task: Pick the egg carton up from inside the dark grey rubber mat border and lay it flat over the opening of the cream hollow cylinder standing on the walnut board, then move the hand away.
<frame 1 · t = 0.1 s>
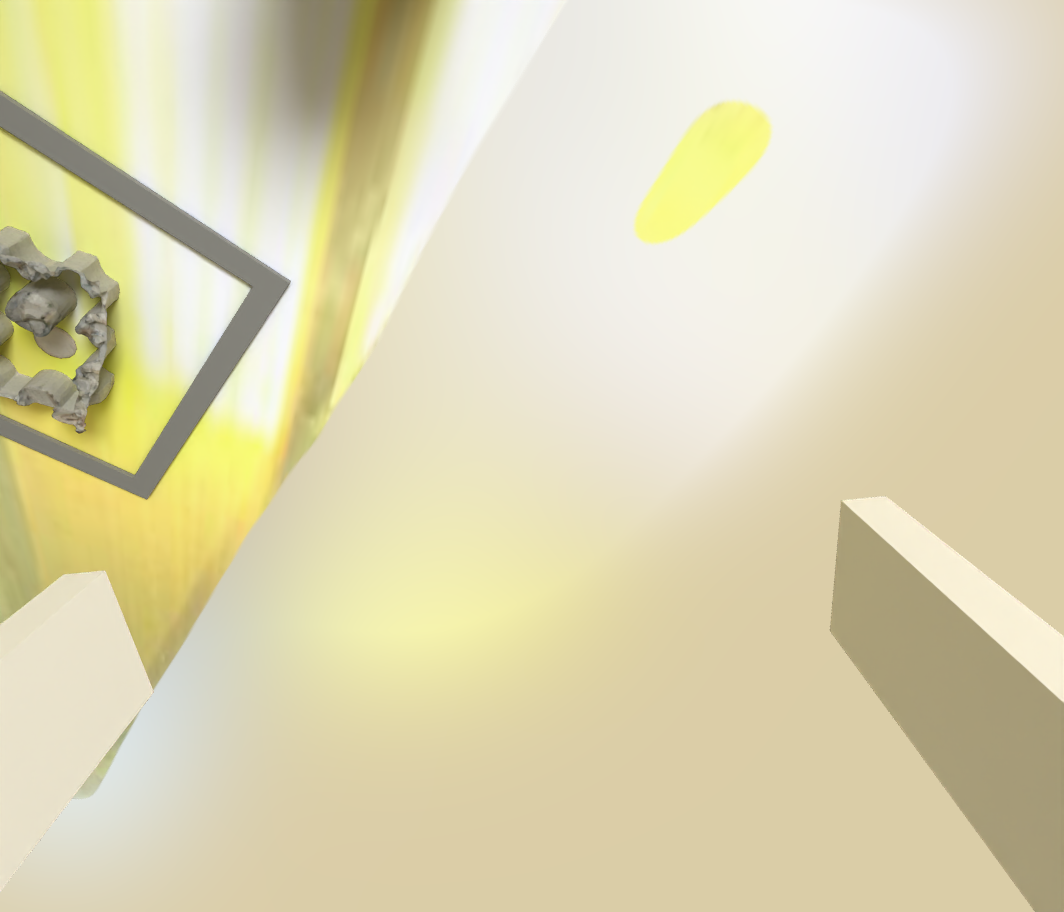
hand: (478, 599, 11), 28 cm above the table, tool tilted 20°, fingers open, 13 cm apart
mat border: (53, 318, 37), on the table
egg carton: (55, 314, 38), on the table
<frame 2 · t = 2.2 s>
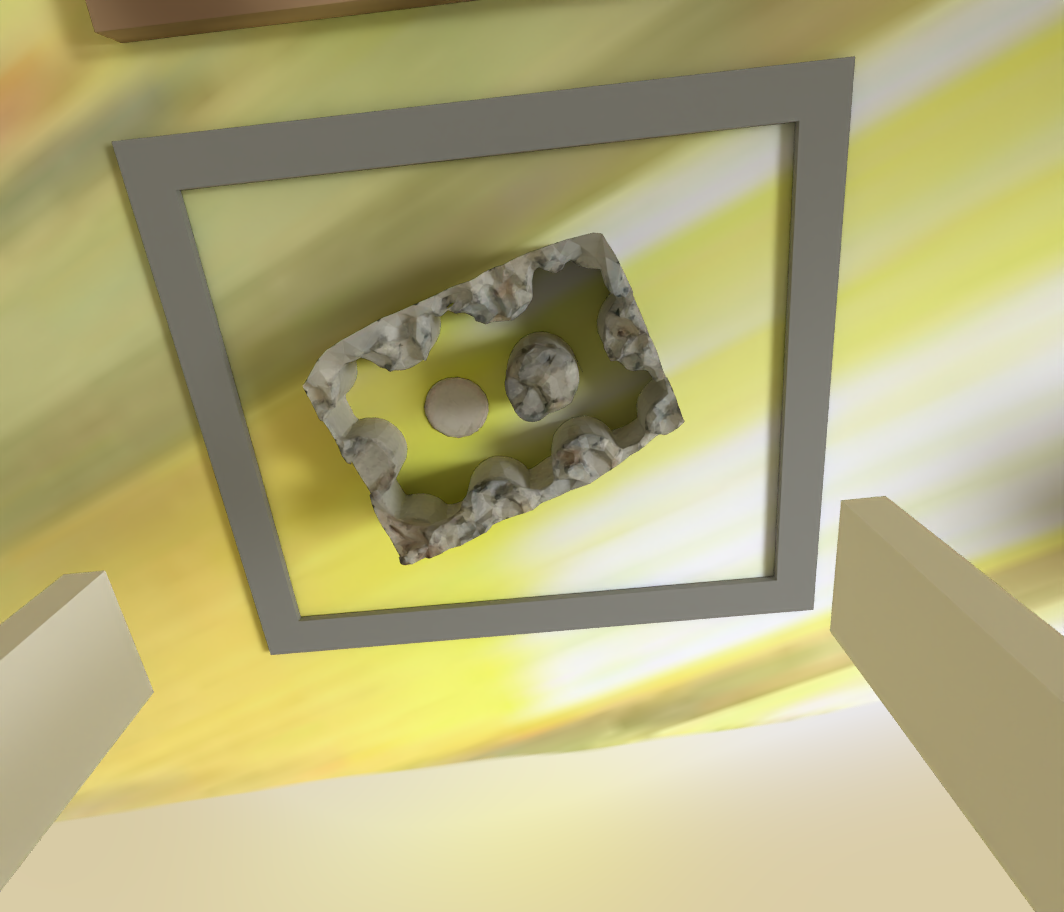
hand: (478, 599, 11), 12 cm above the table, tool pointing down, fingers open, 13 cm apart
mat border: (511, 405, 22), on the table
egg carton: (496, 378, 22), on the table
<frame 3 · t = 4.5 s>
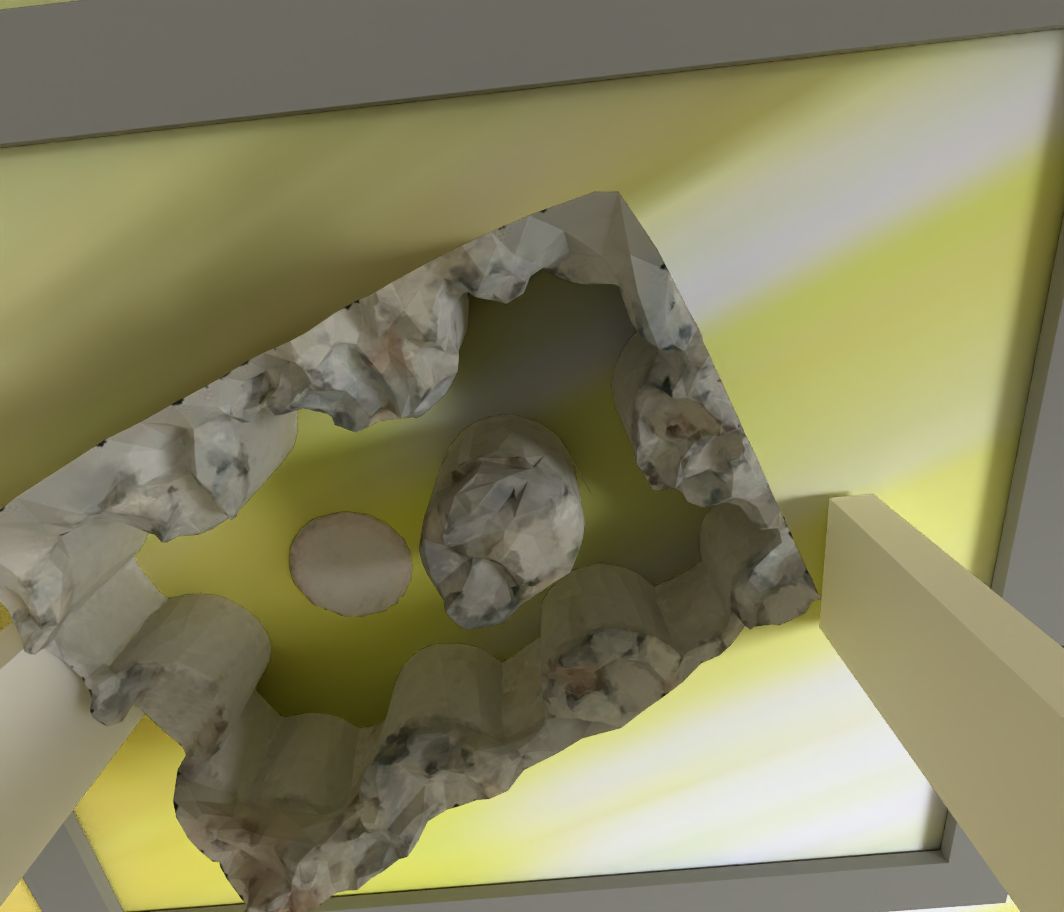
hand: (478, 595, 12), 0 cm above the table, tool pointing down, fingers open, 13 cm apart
mat border: (480, 588, 12), on the table
egg carton: (425, 503, 12), on the table
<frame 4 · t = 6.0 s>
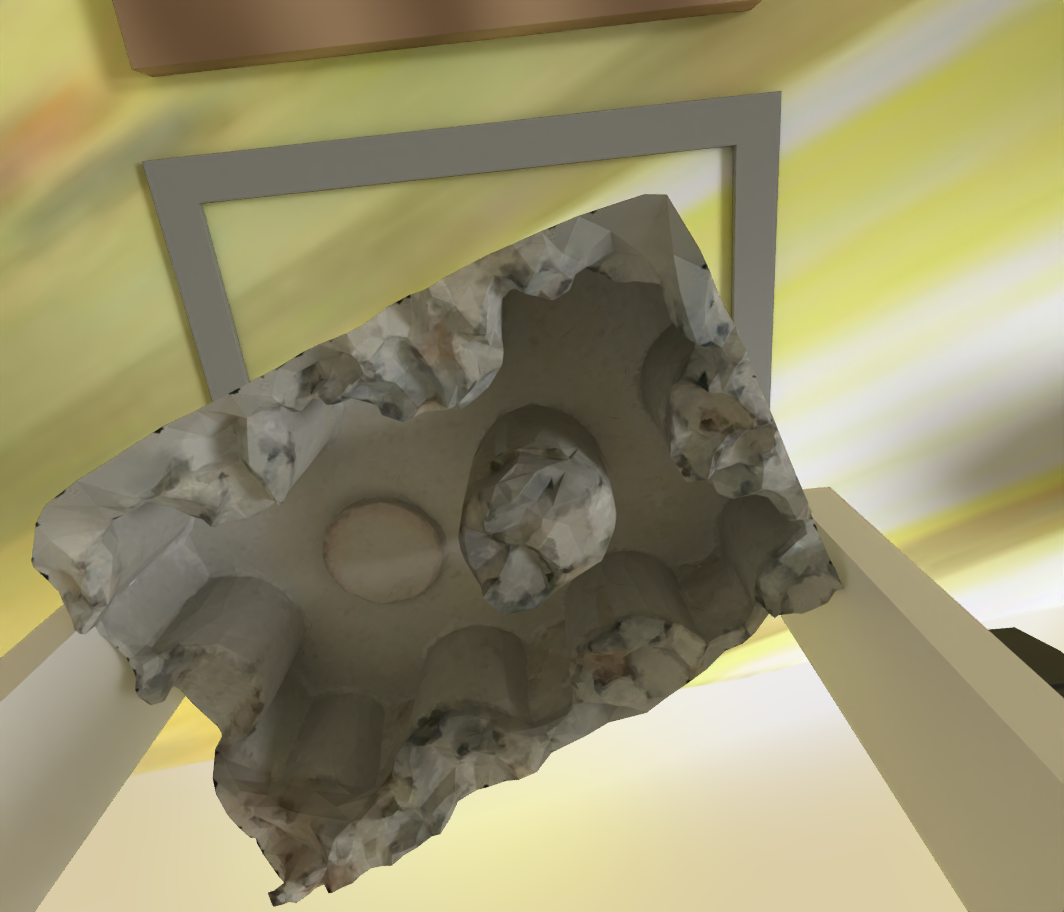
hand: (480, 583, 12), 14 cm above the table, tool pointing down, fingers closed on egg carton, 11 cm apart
mat border: (493, 392, 25), on the table
egg carton: (455, 494, 12), point 14 cm above the table, touching gripper
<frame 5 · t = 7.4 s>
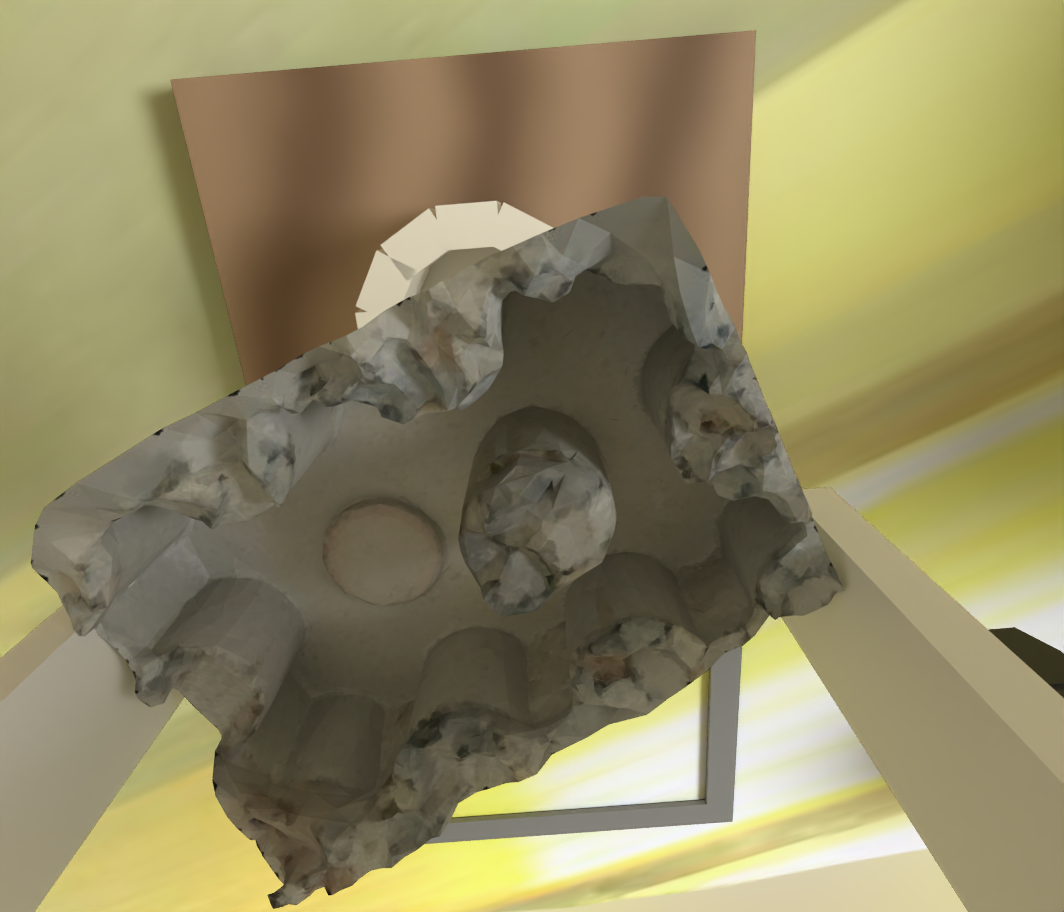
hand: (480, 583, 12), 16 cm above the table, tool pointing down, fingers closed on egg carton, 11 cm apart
mat border: (528, 701, 33), on the table
walnut board: (488, 304, 26), on the table
cream hollow cylinder: (487, 308, 24), resting on walnut board
egg carton: (455, 495, 12), point 15 cm above the table, touching gripper
when the fingers open (8 cm above the table, at t = 10.0 s): egg carton stays where it is, resting on cream hollow cylinder.
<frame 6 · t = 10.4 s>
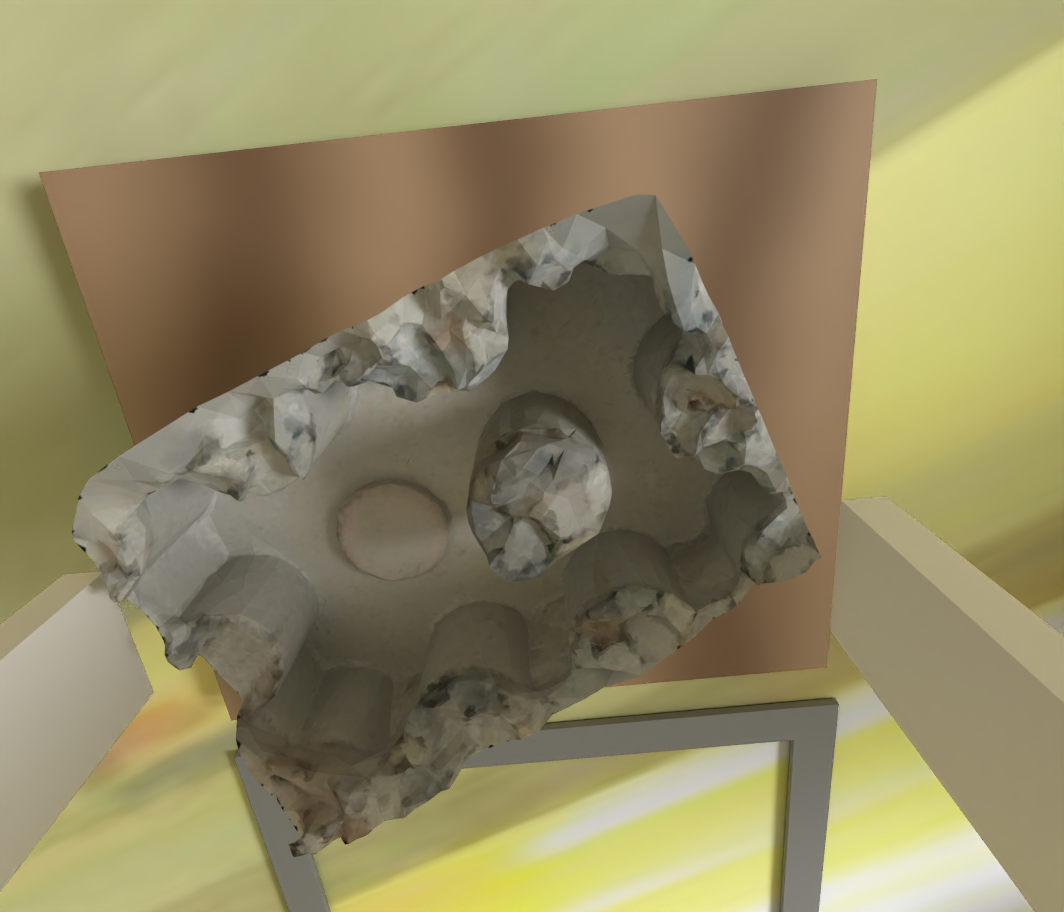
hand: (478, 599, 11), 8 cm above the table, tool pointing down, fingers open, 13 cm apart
mat border: (555, 899, 27), on the table
walnut board: (496, 444, 19), on the table
egg carton: (460, 477, 13), point 6 cm above the table, touching cream hollow cylinder
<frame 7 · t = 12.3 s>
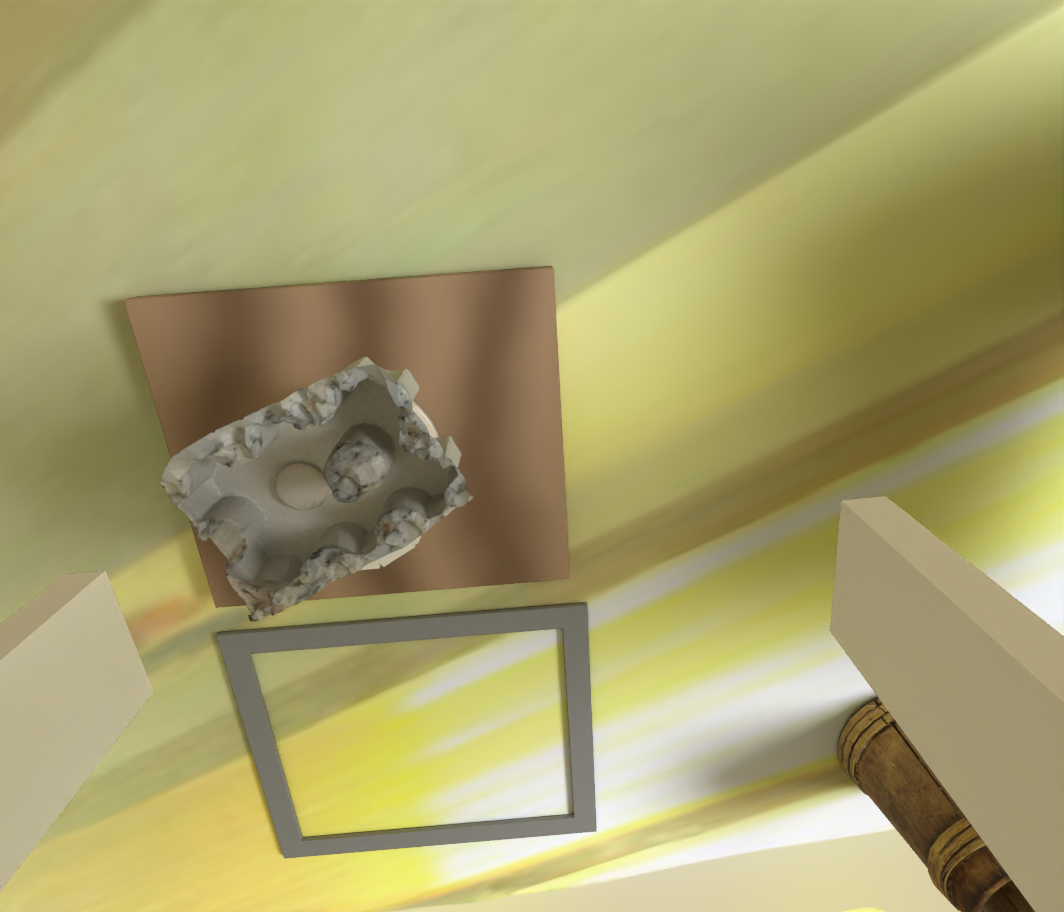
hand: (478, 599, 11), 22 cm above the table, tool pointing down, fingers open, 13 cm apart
mat border: (423, 738, 41), on the table
walnut board: (373, 445, 34), on the table
cream hollow cylinder: (369, 453, 32), resting on walnut board
wooden mug: (933, 729, 43), on the table
egg carton: (333, 461, 27), point 6 cm above the table, touching cream hollow cylinder
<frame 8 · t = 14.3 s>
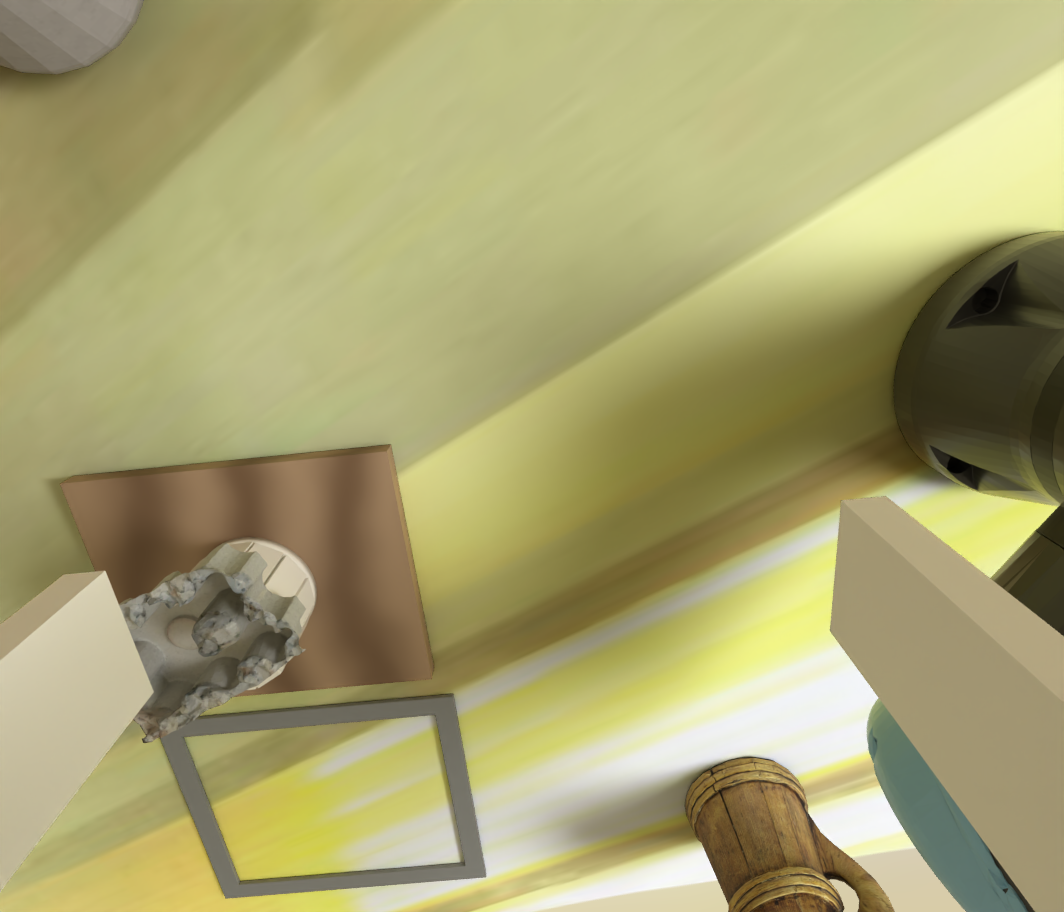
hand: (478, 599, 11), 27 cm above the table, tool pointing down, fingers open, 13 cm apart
mat border: (331, 801, 49), on the table
walnut board: (265, 578, 42), on the table
cream hollow cylinder: (258, 588, 41), resting on walnut board
wooden mug: (769, 792, 50), on the table
egg carton: (211, 613, 36), point 6 cm above the table, touching cream hollow cylinder
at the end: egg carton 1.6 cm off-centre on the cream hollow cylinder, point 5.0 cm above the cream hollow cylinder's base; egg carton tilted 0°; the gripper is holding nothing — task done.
